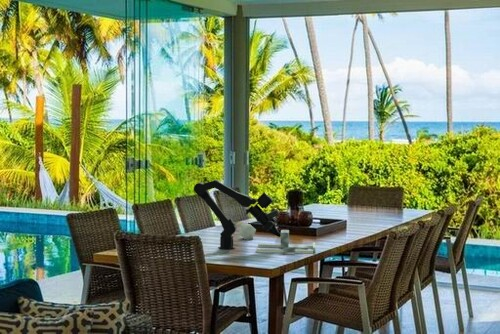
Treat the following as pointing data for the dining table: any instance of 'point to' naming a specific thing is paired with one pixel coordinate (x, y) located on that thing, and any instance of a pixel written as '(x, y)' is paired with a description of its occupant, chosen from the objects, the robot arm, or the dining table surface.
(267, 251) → the pale green open frame
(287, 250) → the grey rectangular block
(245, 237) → the die
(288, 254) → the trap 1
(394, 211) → the dining table surface
